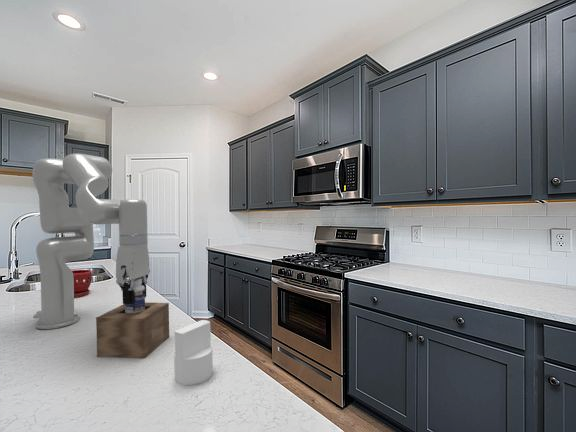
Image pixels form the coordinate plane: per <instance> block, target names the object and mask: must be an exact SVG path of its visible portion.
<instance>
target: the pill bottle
mask: <svg viewBox="0 0 576 432" xmlns="http://www.w3.org/2000/svg"><path fill="white" fill-rule="evenodd" d="M126 283H127V284H128V285H129V282H126ZM141 284H142V278H137V279H135V280H134V283H133V289H132V290H134V303H133V304H125V313H128V314H136V313H140V312H143V311H144V310H145V303H146V297H145V287H144V286H143V285H141Z"/></svg>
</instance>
